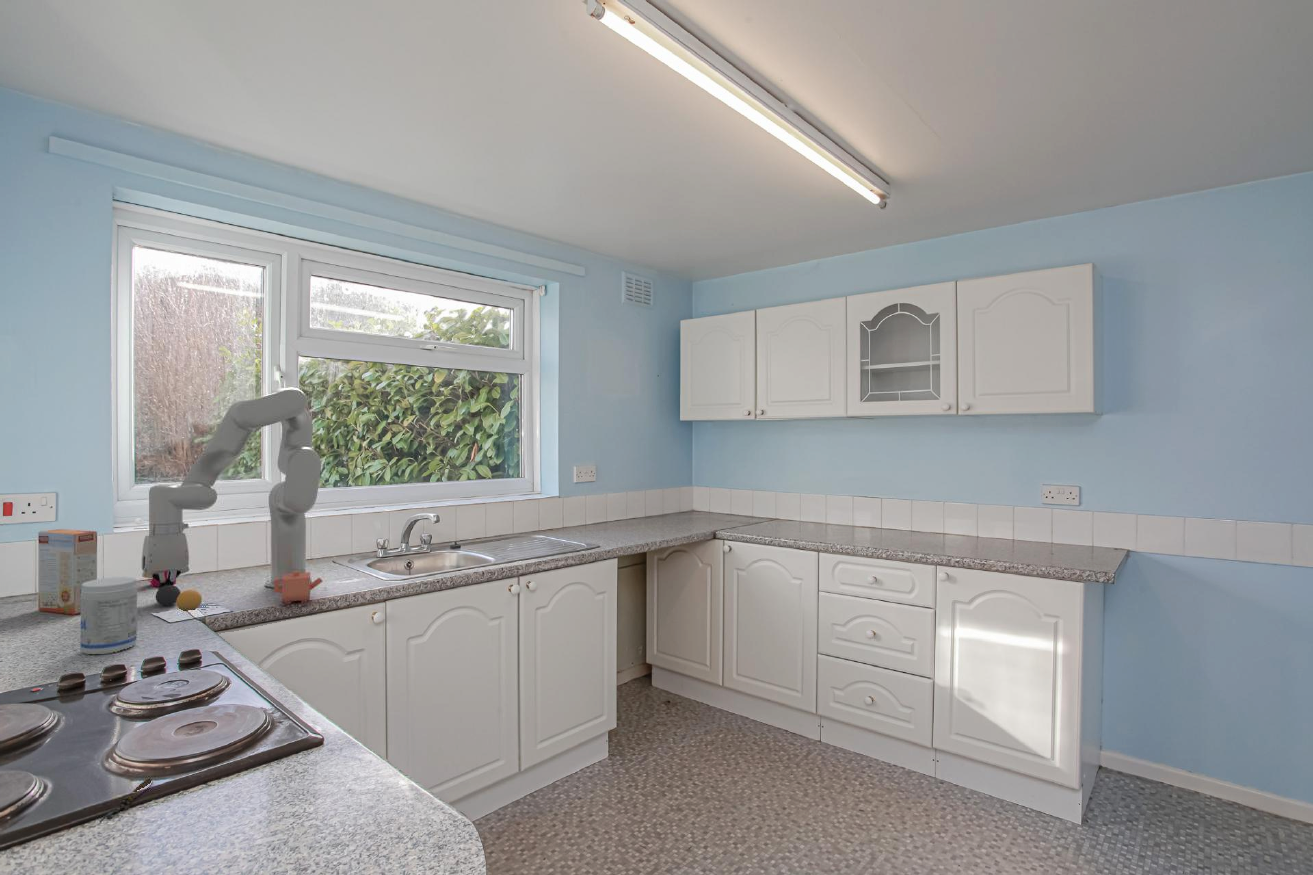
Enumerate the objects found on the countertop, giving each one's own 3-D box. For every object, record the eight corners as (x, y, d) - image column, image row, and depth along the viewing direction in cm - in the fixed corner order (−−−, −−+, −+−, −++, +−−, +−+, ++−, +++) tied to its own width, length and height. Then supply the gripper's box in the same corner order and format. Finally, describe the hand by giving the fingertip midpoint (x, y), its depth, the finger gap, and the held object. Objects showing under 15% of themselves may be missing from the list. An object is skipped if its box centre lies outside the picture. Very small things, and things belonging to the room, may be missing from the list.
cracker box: (99, 610, 179) (98, 530, 179) (72, 616, 174) (72, 533, 174) (63, 605, 184) (63, 527, 184) (37, 611, 178) (36, 530, 178)
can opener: (144, 786, 92) (144, 778, 91) (162, 786, 92) (162, 777, 92) (92, 826, 82) (92, 816, 82) (112, 825, 83) (112, 816, 83)
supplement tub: (76, 649, 147) (75, 581, 147) (130, 639, 154) (130, 574, 154) (86, 659, 141) (86, 588, 141) (142, 648, 148) (142, 580, 148)
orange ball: (195, 602, 183) (203, 613, 180) (171, 606, 178) (179, 617, 175) (198, 584, 182) (206, 594, 179) (175, 587, 177) (182, 598, 174)
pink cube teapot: (322, 602, 189) (322, 572, 189) (273, 606, 184) (273, 576, 184) (322, 595, 196) (322, 567, 196) (275, 600, 191) (275, 570, 191)
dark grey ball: (176, 584, 188) (182, 603, 188) (152, 590, 185) (157, 610, 184) (178, 580, 184) (183, 600, 184) (153, 587, 181) (159, 606, 180)
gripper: (192, 525, 197) (192, 589, 197) (128, 531, 185) (128, 599, 185) (202, 528, 192) (202, 593, 192) (137, 534, 180) (137, 603, 180)
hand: (166, 596), depth 188 cm, fingers closed
